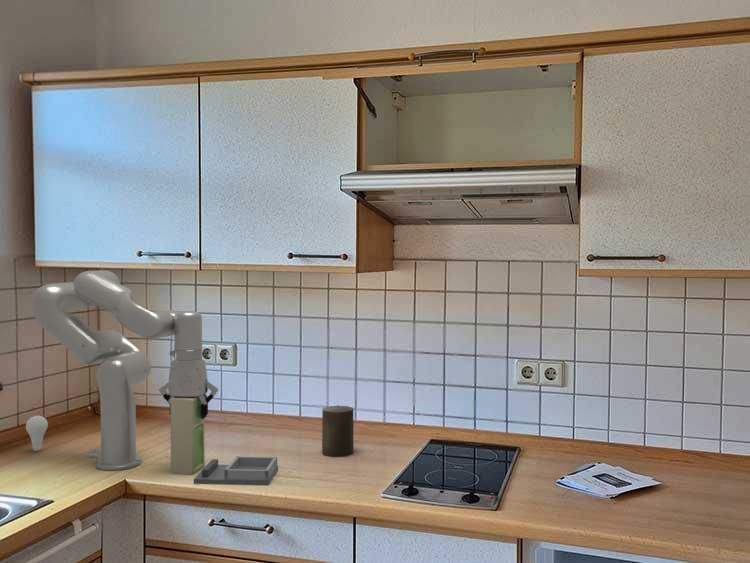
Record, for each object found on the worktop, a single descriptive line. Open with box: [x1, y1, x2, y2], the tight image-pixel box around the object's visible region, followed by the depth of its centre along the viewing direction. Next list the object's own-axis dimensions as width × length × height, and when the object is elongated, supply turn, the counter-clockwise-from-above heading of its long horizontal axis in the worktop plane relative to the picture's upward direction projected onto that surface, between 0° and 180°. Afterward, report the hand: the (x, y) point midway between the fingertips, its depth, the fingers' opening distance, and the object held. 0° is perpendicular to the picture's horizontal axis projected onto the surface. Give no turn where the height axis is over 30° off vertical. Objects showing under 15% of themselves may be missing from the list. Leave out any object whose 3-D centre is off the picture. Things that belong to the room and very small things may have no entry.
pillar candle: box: [321, 404, 355, 458], centre depth 214 cm, size 10×10×15 cm
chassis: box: [193, 455, 279, 486], centre depth 190 cm, size 20×13×4 cm, turn 87°
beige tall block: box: [169, 397, 206, 475], centre depth 196 cm, size 8×7×21 cm
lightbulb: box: [25, 415, 49, 452], centre depth 215 cm, size 6×6×11 cm
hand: (188, 417), depth 196 cm, fingers closed on beige tall block, 7 cm apart
